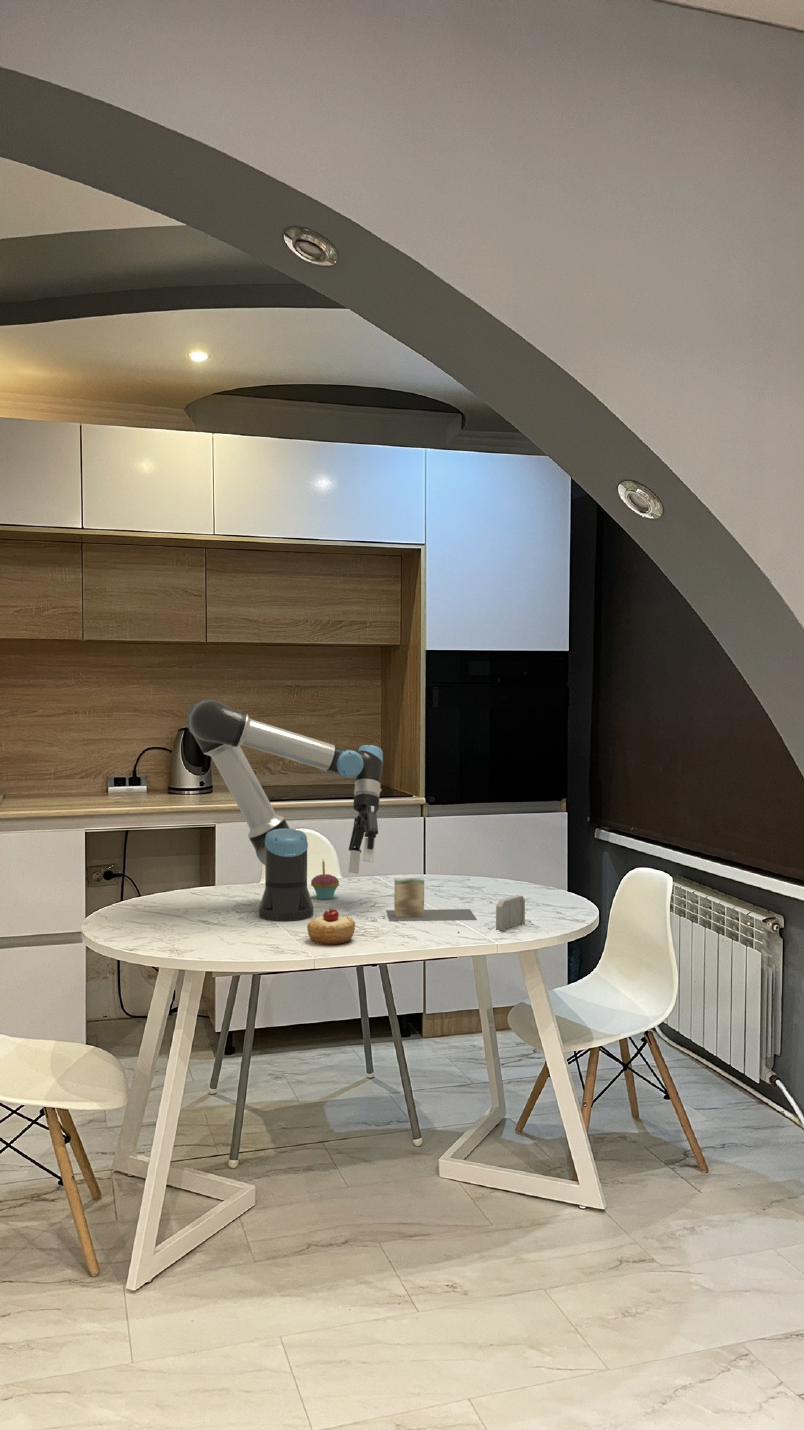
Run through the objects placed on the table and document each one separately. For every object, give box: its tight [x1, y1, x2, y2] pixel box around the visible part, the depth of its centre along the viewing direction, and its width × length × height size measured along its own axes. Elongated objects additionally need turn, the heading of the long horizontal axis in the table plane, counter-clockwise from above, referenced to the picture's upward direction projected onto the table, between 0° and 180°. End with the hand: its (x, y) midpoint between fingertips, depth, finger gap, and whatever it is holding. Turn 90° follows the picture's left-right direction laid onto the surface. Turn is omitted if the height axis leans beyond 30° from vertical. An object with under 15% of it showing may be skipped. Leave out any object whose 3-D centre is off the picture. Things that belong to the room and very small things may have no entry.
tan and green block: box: [393, 877, 425, 917], centre depth 291 cm, size 8×3×10 cm, turn 95°
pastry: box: [306, 906, 356, 946], centre depth 265 cm, size 12×12×9 cm
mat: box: [385, 908, 478, 922], centre depth 292 cm, size 24×14×1 cm, turn 95°
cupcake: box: [310, 859, 340, 900], centre depth 318 cm, size 9×8×12 cm
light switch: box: [495, 894, 526, 932], centre depth 281 cm, size 2×12×8 cm, turn 143°
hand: (360, 867), depth 300 cm, fingers open, 13 cm apart
